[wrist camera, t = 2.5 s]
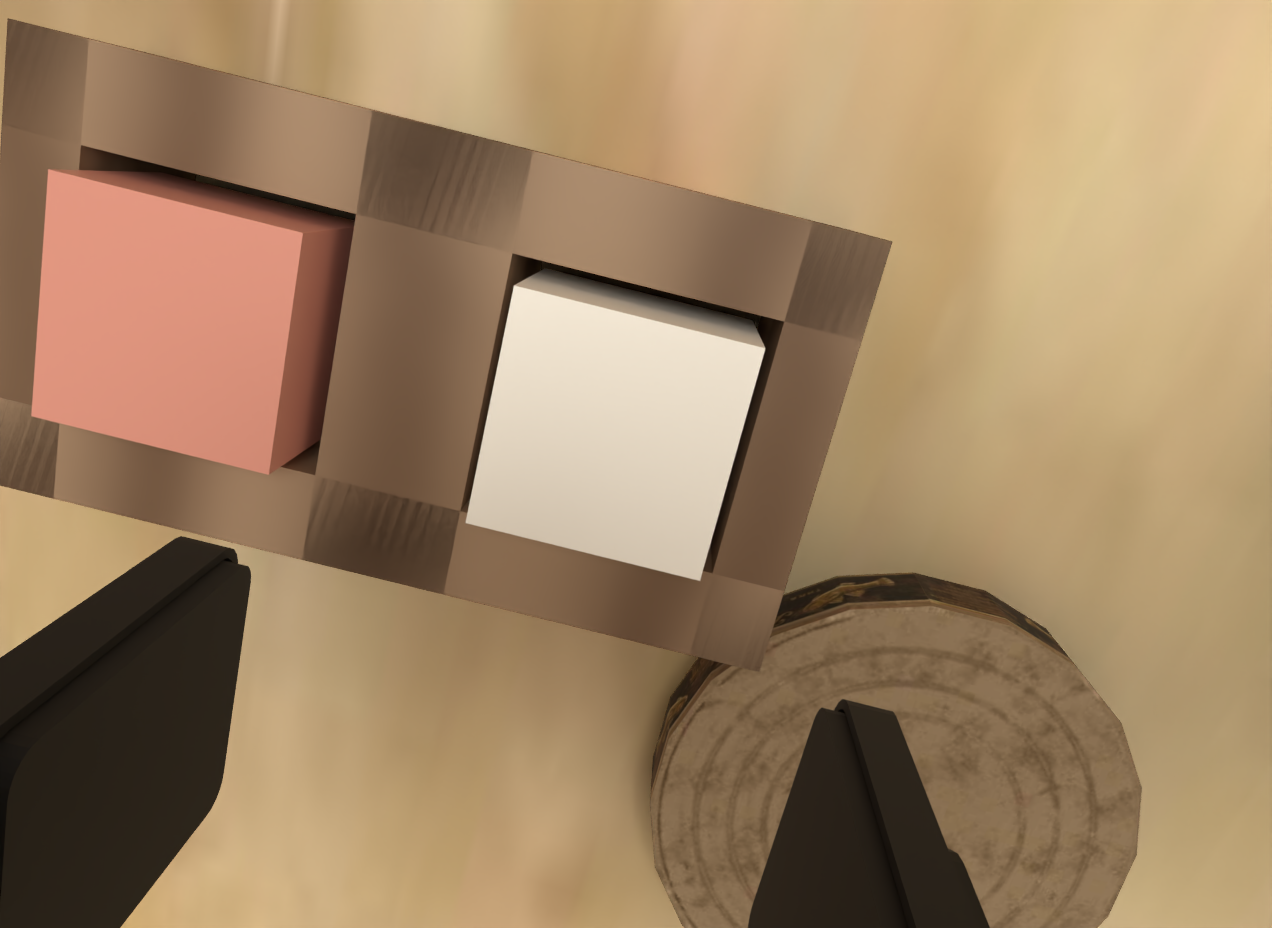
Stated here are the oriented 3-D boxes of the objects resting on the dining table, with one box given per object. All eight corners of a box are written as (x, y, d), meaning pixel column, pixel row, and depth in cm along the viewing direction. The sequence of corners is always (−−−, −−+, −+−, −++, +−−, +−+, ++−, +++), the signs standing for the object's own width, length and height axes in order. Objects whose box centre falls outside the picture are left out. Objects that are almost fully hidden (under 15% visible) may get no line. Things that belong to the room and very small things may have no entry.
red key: (371, 225, 27) (303, 233, 23) (338, 427, 29) (268, 474, 24) (161, 172, 27) (48, 169, 22) (140, 378, 29) (31, 416, 24)
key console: (853, 231, 30) (892, 241, 24) (747, 587, 33) (758, 672, 27) (142, 51, 29) (7, 18, 24) (107, 429, 33) (-18, 481, 27)
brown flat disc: (981, 484, 32) (1010, 514, 29) (1177, 851, 35) (1220, 910, 32) (569, 699, 35) (558, 746, 32) (786, 1019, 38) (793, 1087, 35)
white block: (752, 320, 28) (765, 348, 23) (698, 516, 29) (699, 580, 24) (545, 268, 27) (513, 285, 23) (502, 467, 29) (465, 522, 24)
